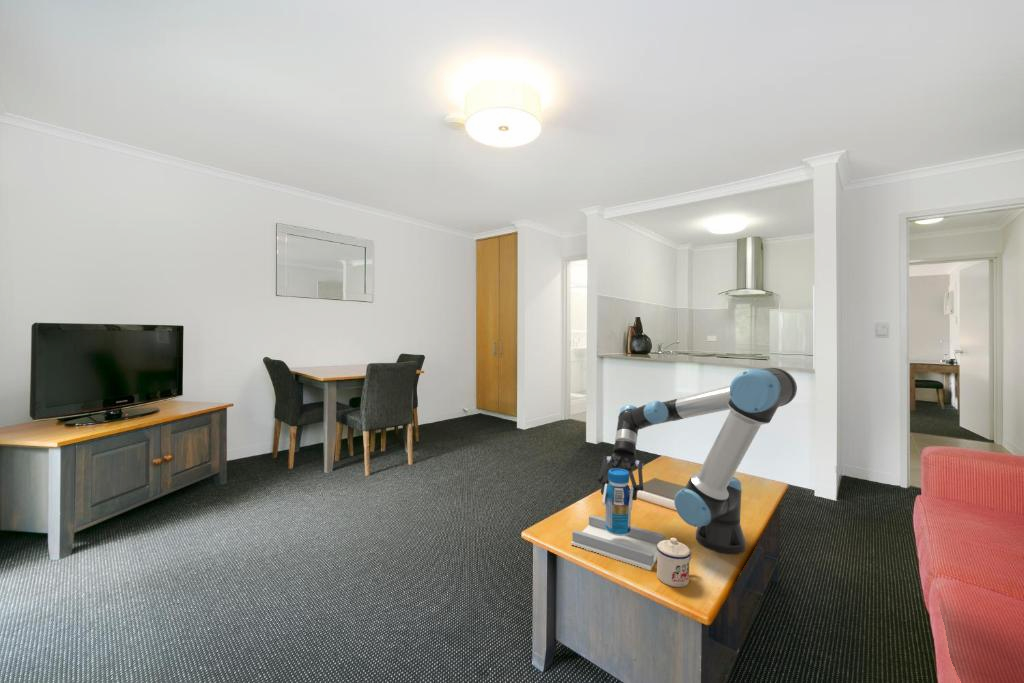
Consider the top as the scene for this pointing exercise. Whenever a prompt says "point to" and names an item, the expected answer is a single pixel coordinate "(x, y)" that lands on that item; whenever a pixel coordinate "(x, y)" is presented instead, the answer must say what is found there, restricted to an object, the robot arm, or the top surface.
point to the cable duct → (619, 543)
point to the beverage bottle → (618, 503)
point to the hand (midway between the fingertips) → (616, 506)
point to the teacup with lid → (673, 562)
